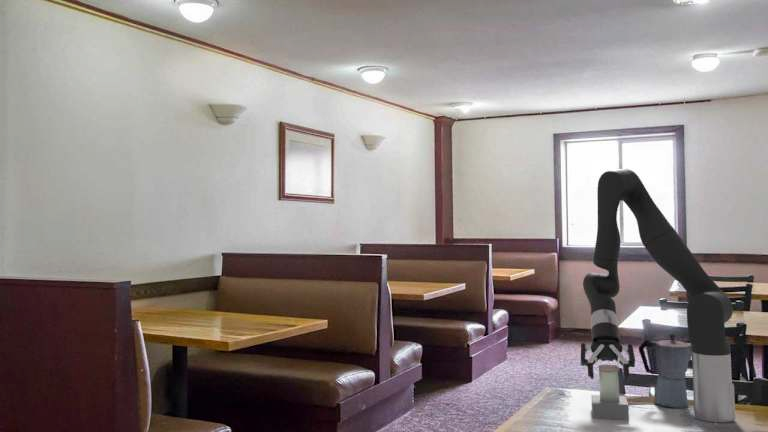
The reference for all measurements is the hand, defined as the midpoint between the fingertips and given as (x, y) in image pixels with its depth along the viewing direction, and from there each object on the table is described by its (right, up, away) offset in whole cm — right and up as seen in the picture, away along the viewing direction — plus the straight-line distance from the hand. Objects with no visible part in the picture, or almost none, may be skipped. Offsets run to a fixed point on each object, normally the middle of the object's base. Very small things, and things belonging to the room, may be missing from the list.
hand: (608, 378), depth 179 cm
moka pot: (+20, -10, +9) cm, 25 cm away
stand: (+1, -10, +1) cm, 10 cm away
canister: (+1, -6, +1) cm, 6 cm away
